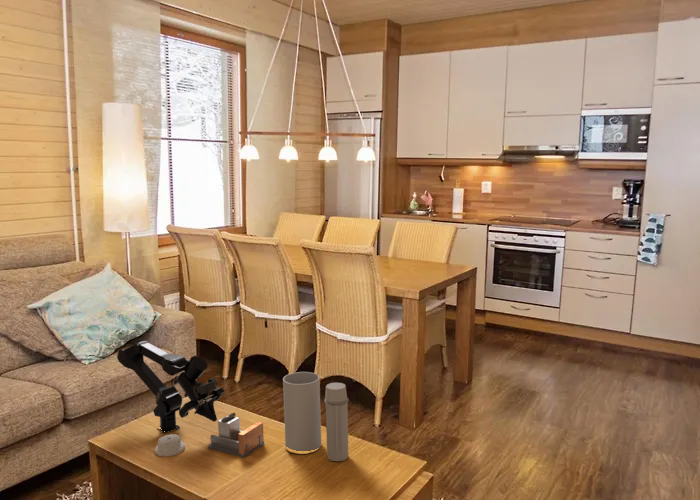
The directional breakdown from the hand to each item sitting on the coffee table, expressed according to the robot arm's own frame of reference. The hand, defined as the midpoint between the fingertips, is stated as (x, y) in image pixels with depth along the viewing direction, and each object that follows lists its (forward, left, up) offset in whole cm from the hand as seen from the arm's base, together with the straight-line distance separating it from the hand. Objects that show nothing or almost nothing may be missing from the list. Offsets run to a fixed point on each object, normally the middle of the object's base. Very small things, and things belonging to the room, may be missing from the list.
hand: (215, 420), depth 201 cm
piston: (+6, +2, -6) cm, 9 cm away
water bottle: (+40, +23, -8) cm, 47 cm away
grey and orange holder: (+8, +3, -8) cm, 12 cm away
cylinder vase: (+25, +20, -8) cm, 33 cm away
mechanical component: (-5, -15, -8) cm, 18 cm away
